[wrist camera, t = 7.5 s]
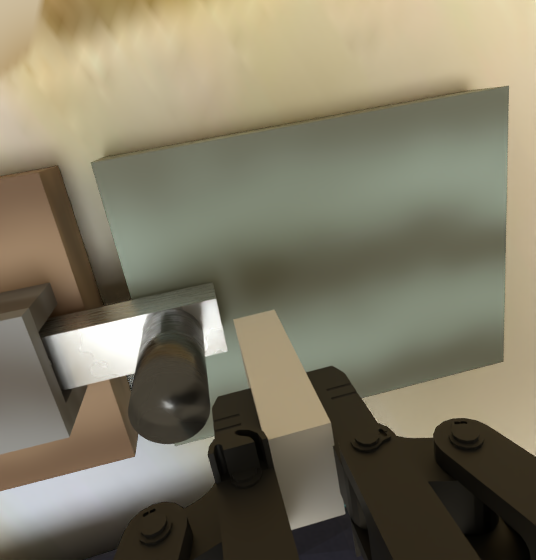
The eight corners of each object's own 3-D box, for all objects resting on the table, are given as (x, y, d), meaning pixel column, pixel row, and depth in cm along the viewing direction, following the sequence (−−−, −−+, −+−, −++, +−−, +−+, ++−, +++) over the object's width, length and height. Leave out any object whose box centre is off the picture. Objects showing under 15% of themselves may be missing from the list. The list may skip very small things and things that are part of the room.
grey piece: (223, 330, 21) (243, 426, 14) (-4, 383, 20) (-97, 513, 13) (212, 282, 20) (228, 360, 13) (-26, 334, 19) (-137, 446, 12)
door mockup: (470, 337, 27) (553, 398, 21) (-88, 476, 24) (-181, 598, 18) (468, 90, 23) (575, 78, 16) (-235, 219, 19) (-433, 264, 13)
